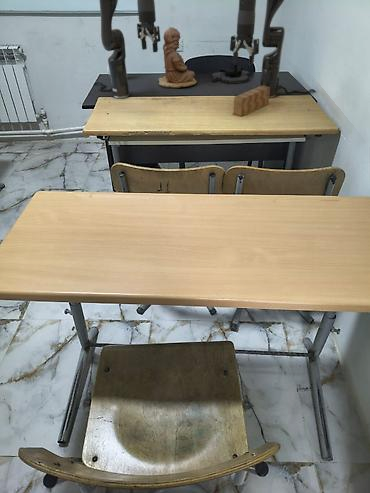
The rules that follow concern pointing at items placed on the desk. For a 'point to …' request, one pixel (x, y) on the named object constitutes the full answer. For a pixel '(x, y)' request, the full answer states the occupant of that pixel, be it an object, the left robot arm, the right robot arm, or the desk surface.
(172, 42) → the sculpture
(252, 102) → the bar
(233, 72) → the abstract sculpture
